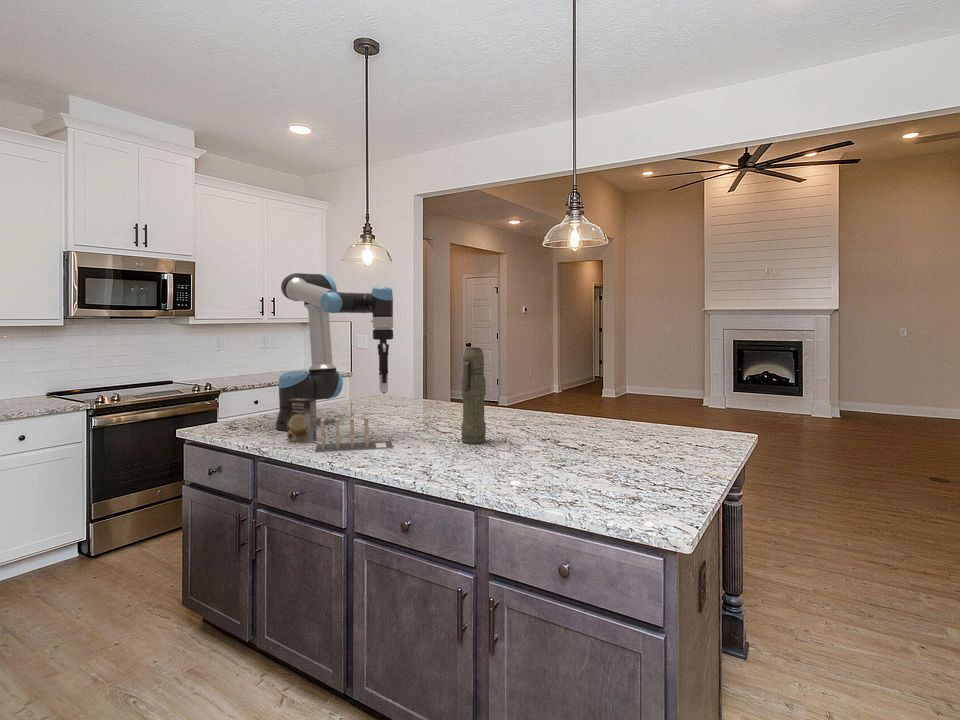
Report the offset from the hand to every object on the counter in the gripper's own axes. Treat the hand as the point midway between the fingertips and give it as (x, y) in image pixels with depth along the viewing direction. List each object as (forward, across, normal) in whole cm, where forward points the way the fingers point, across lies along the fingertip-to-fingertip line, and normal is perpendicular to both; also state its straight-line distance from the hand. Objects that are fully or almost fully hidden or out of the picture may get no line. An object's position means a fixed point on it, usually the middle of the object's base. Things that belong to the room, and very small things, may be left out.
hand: (383, 390), depth 208 cm
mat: (+19, +11, -11) cm, 24 cm away
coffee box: (+19, -3, -30) cm, 36 cm away
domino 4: (+18, +11, -7) cm, 22 cm away
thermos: (+19, +12, +32) cm, 39 cm away
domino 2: (+18, +11, -17) cm, 27 cm away
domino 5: (+1, 0, 0) cm, 1 cm away
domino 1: (+18, +11, -22) cm, 31 cm away
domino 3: (+18, +11, -12) cm, 24 cm away
